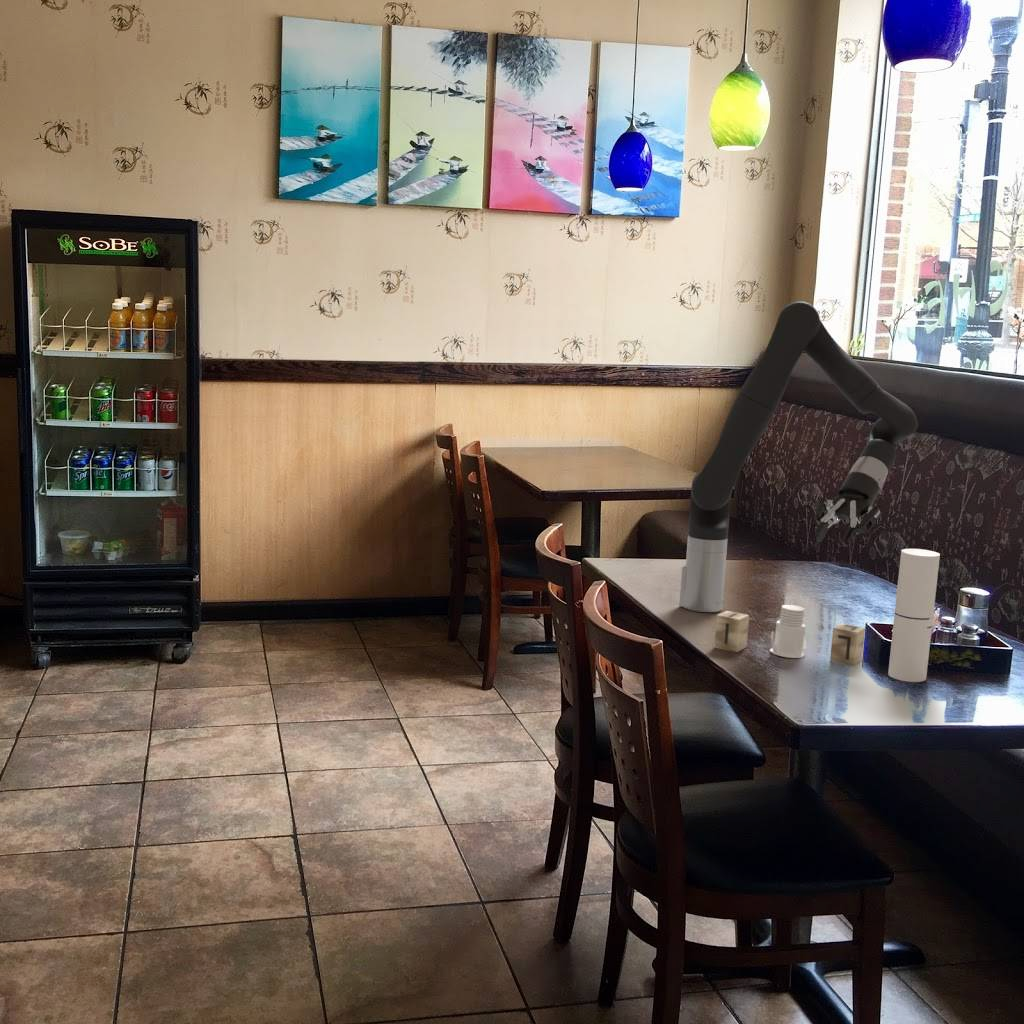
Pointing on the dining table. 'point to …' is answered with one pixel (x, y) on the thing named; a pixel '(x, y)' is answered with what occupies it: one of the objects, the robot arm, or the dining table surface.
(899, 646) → the cylindrical container
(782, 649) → the downlight
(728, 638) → the birch block one
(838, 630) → the birch block seven
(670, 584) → the dining table surface
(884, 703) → the dining table surface
